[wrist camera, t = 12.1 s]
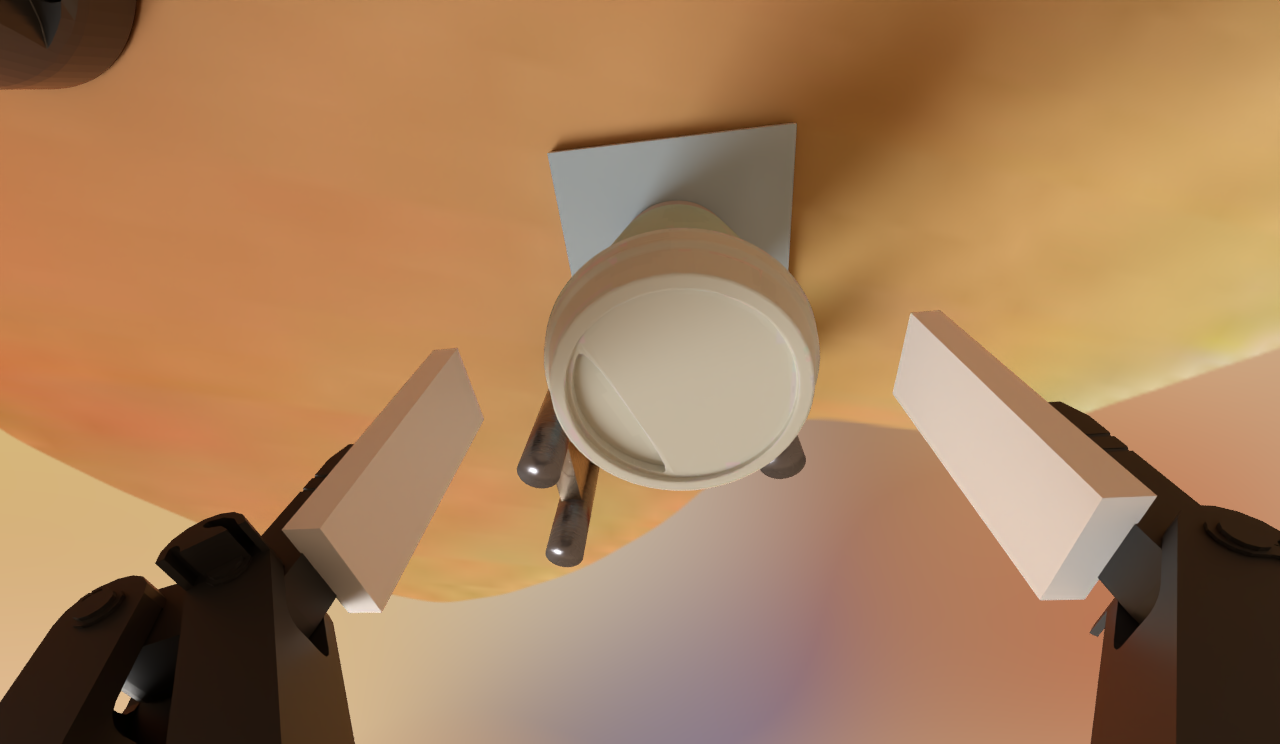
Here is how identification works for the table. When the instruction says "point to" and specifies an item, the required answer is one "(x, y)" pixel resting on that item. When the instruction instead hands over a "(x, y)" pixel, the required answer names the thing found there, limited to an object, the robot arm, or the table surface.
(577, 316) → the coffee cup
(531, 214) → the table surface
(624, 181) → the coaster
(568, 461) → the rail
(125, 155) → the table surface
